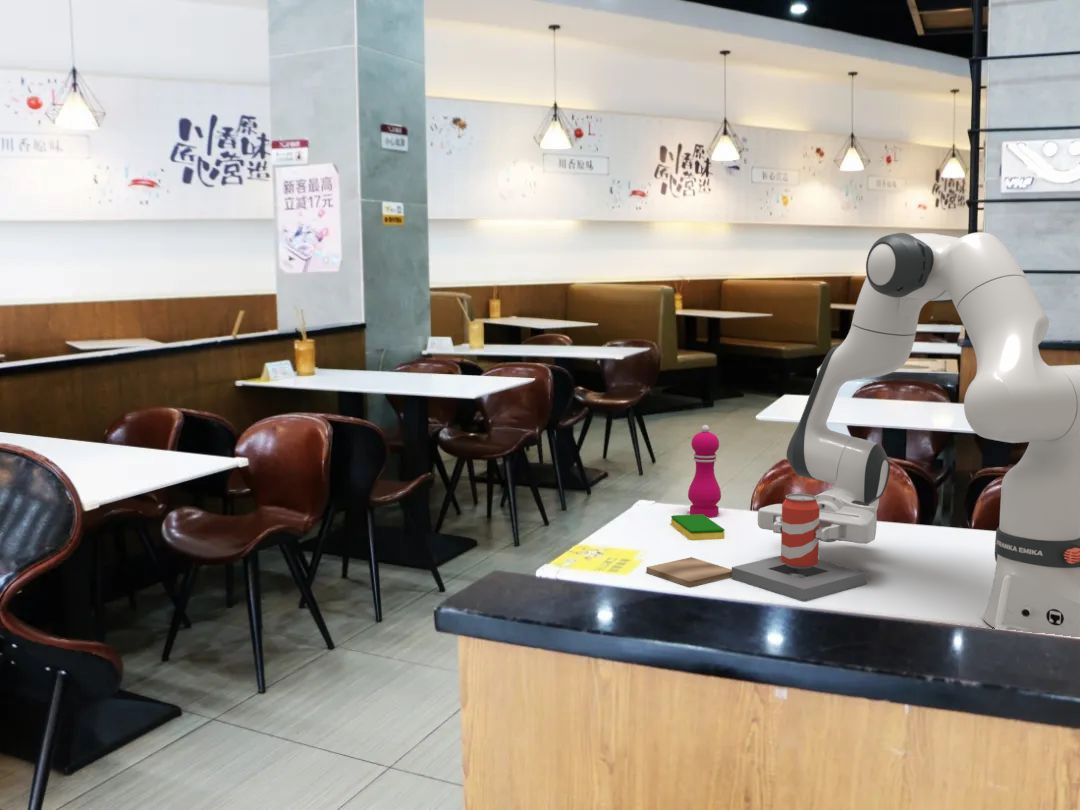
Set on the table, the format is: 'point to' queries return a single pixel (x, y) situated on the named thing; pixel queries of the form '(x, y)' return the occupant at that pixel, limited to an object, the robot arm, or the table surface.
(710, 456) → the pepper mill
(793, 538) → the beverage can
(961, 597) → the table surface
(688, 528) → the dish sponge
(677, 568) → the coaster pad
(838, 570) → the dock
